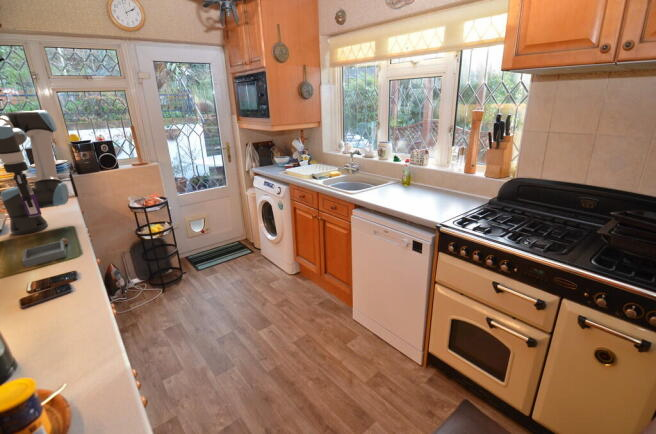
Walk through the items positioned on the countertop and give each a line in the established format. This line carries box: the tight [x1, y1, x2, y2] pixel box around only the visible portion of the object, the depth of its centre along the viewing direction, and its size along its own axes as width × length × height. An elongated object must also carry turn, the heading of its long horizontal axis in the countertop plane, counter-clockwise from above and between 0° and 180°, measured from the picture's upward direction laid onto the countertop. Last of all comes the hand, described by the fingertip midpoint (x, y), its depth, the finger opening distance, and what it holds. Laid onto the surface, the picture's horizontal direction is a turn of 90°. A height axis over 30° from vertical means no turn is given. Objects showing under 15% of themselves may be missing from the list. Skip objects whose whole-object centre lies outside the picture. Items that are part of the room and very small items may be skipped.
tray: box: [21, 239, 67, 268], centre depth 146 cm, size 14×14×3 cm
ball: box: [59, 237, 69, 246], centre depth 157 cm, size 3×3×3 cm
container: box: [16, 182, 42, 217], centre depth 152 cm, size 5×5×15 cm
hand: (34, 211), depth 154 cm, fingers closed on container, 5 cm apart
